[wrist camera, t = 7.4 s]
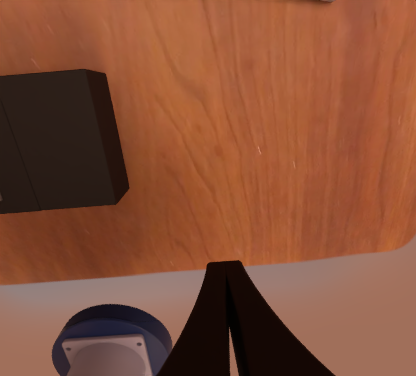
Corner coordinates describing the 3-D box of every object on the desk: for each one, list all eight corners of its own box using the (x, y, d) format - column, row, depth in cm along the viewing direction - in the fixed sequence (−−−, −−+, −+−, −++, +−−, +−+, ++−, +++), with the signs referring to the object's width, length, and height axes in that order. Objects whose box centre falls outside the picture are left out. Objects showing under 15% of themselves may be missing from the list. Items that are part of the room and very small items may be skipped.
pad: (129, 188, 19) (116, 205, 16) (65, 193, 19) (40, 210, 16) (105, 73, 16) (84, 68, 13) (29, 79, 16) (-8, 76, 13)
